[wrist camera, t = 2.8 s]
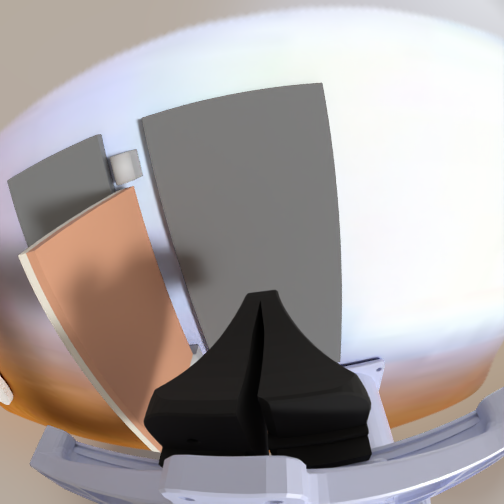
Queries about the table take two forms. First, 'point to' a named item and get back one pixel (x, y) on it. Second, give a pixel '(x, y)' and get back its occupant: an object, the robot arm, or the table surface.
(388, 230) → the table surface
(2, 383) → the plastic lid
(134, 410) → the flap
